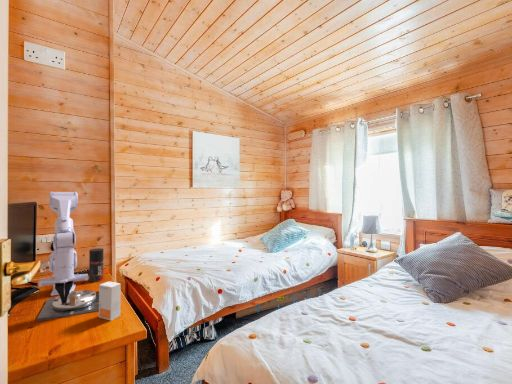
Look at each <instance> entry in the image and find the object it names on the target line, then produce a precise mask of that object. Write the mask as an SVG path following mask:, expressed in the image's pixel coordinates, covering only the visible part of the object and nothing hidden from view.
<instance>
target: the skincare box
mask: <svg viewBox="0 0 512 384" xmlns="http://www.w3.org/2000/svg"><path fill="white" fill-rule="evenodd" d="M121 285H122V283H119V282H114V281H108V280H107V281H106V282H103V283H100V284H98V291H99V311H98V318H99V319H102V320H108V321H111V322H112V321H113V320H115V319H117V318H119V317H121V295H122V294H121V293H122V291H121V289H122V288H121V287H122V286H121Z"/></svg>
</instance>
